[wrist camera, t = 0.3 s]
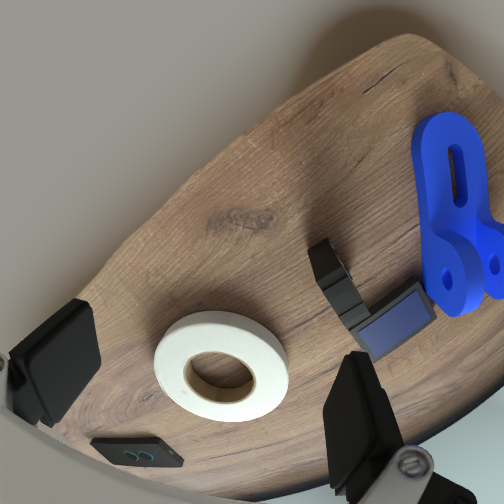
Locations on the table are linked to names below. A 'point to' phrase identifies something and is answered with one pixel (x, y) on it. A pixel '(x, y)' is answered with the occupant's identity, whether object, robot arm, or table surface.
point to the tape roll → (229, 343)
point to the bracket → (456, 216)
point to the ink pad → (394, 320)
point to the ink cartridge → (337, 284)
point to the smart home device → (137, 452)
